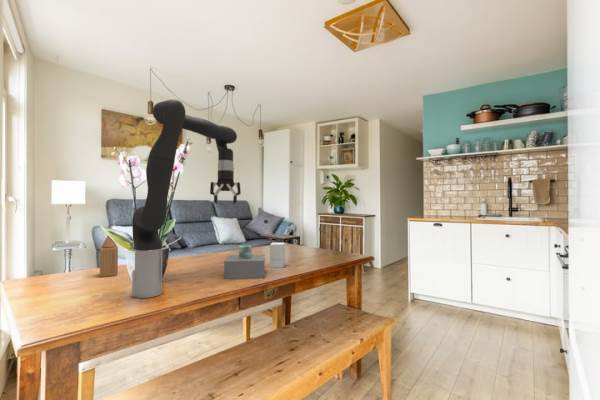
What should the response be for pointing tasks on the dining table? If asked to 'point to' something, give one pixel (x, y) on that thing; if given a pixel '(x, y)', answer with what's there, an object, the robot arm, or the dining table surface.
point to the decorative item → (108, 258)
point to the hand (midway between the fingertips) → (225, 203)
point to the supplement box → (277, 255)
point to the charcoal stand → (244, 267)
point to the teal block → (245, 251)
